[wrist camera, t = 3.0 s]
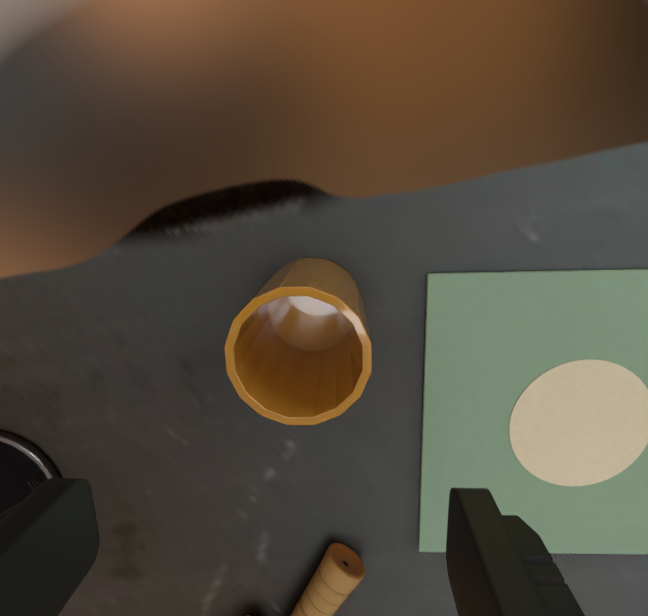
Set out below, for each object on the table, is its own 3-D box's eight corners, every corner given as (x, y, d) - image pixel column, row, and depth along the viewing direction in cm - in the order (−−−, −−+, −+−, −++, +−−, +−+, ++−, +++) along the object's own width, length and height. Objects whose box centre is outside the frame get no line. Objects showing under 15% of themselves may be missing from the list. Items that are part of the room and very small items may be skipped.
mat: (418, 547, 31) (419, 553, 30) (426, 273, 26) (428, 274, 25) (707, 550, 30) (713, 556, 29) (773, 266, 25) (781, 267, 25)
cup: (266, 354, 28) (231, 425, 19) (260, 258, 26) (218, 288, 17) (362, 353, 27) (371, 425, 19) (362, 256, 26) (371, 285, 17)
